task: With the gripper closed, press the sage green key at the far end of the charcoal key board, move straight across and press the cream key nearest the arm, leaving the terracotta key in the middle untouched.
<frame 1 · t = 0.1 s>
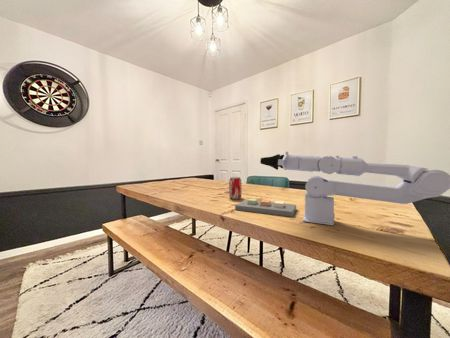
hand: (263, 160, 74), 22 cm above the table, tool horizontal, fingers open, 7 cm apart
terracotta key: (265, 203, 81), point 3 cm above the table, slide at 0.0 cm
key board: (265, 209, 81), on the table
cream key: (279, 204, 78), point 3 cm above the table, slide at 0.0 cm
sage key: (252, 202, 84), point 3 cm above the table, slide at 0.0 cm
soda can: (235, 198, 105), on the table
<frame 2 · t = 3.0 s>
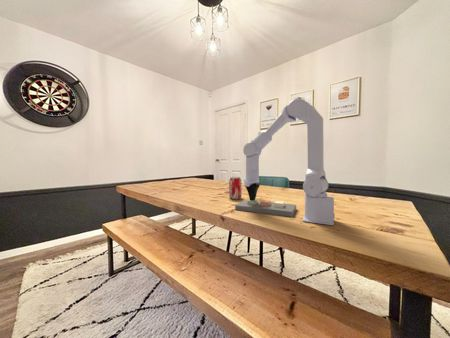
hand: (252, 200, 84), 4 cm above the table, tool pointing down, fingers closed, pressing on sage key
sage key: (252, 202, 84), point 3 cm above the table, slide at 0.2 cm, touching gripper
everything else where it was.
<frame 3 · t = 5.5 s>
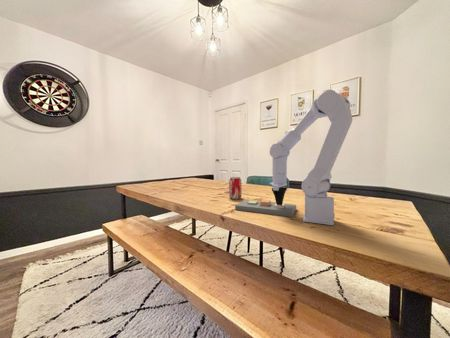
hand: (279, 204, 78), 3 cm above the table, tool pointing down, fingers closed, pressing on cream key
cream key: (279, 207, 78), point 2 cm above the table, slide at 1.0 cm, touching gripper
sage key: (252, 204, 84), point 2 cm above the table, slide at 1.0 cm
everything else where it was.
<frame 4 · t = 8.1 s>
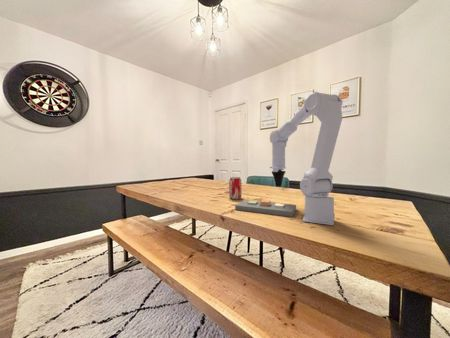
hand: (278, 186, 86), 9 cm above the table, tool pointing down, fingers closed
cream key: (279, 207, 78), point 2 cm above the table, slide at 1.0 cm
everything else where it was.
at the end: sage key slide at 1.0 cm; cream key slide at 1.0 cm; terracotta key slide at 0.0 cm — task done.
